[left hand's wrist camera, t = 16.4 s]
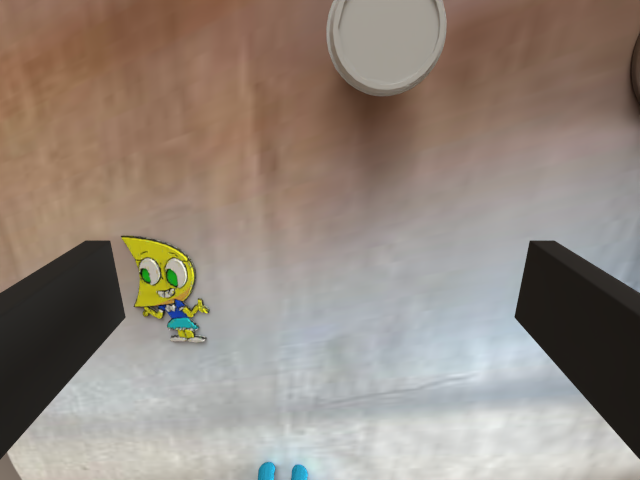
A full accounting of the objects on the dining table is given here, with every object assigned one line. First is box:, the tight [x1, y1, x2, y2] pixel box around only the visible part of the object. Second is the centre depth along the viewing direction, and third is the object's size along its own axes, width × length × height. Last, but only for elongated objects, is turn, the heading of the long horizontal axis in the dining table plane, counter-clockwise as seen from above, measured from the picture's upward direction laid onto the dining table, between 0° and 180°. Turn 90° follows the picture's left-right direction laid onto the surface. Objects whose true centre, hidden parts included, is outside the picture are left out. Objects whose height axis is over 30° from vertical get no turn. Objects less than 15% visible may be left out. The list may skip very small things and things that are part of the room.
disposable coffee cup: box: [326, 0, 447, 96], centre depth 35 cm, size 10×10×12 cm
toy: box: [121, 236, 209, 343], centre depth 50 cm, size 10×1×15 cm
